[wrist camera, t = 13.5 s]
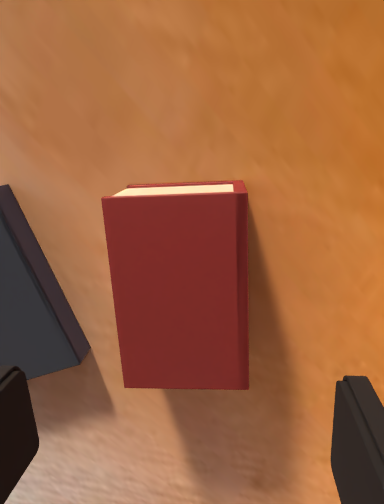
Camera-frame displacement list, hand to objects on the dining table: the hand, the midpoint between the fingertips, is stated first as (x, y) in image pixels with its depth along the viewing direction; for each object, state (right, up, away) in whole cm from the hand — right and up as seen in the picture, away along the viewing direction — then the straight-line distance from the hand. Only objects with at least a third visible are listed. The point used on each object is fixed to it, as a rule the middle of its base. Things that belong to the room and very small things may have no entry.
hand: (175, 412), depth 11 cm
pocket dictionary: (0, +4, +12) cm, 13 cm away
